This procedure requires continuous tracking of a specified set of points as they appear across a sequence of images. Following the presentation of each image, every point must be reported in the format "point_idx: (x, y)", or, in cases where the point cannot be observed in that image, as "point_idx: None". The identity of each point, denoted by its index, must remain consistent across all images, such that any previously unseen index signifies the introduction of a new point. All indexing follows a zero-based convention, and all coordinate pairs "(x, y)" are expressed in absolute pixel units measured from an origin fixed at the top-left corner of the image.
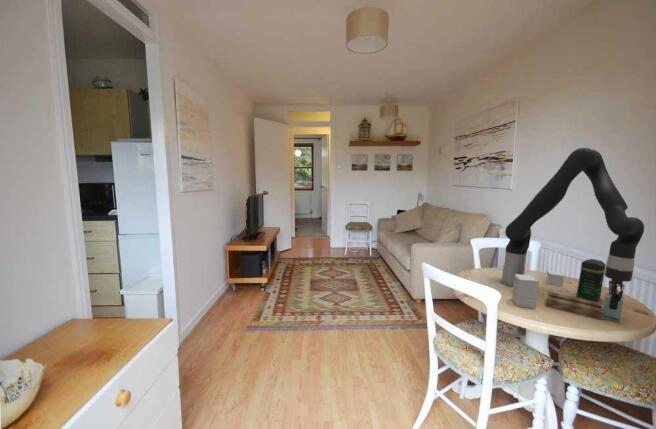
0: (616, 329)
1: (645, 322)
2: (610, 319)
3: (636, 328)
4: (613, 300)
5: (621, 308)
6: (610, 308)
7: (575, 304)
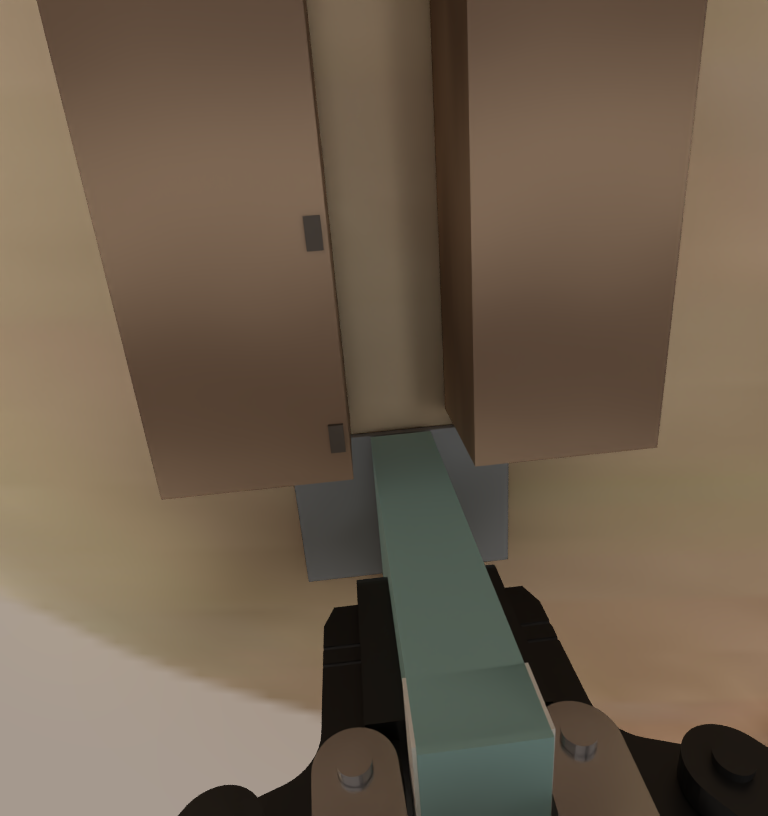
0: (17, 562)
1: None
2: (307, 507)
3: (264, 693)
4: (304, 784)
5: None
6: (357, 588)
7: (135, 10)
